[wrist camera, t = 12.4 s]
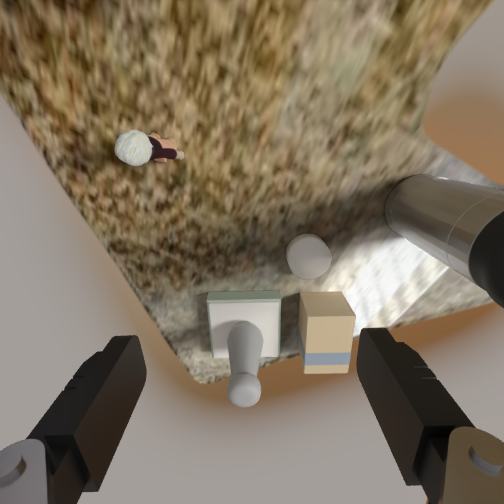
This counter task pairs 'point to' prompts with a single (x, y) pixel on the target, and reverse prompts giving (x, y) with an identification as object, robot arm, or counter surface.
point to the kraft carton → (325, 332)
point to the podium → (244, 318)
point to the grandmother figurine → (145, 148)
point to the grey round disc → (308, 256)
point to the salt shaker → (244, 363)
